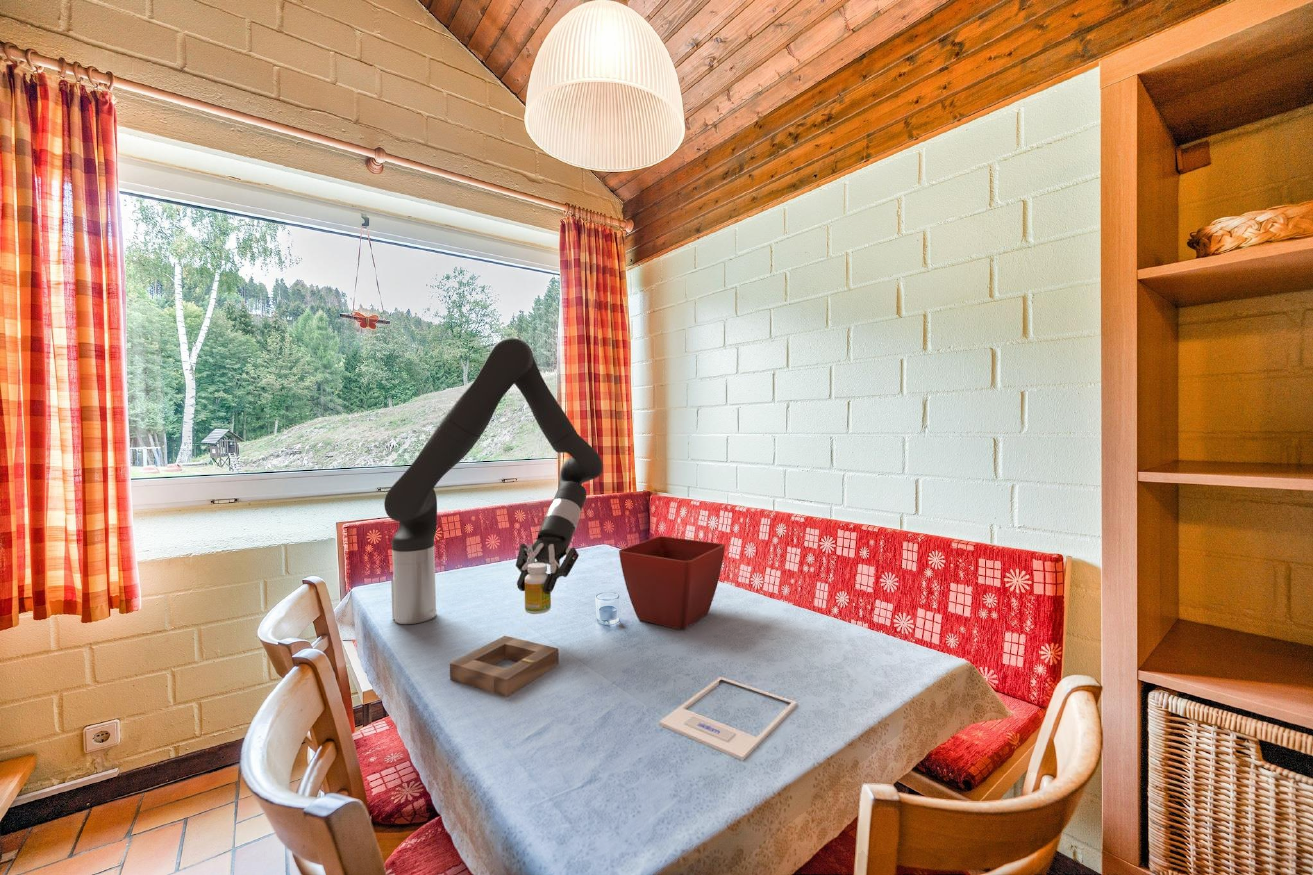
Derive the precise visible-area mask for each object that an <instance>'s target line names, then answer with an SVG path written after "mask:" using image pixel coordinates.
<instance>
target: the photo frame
mask: <svg viewBox="0 0 1313 875" xmlns="http://www.w3.org/2000/svg"><path fill="white" fill-rule="evenodd" d="M720 681H722V682H723V681H724V682H726V683H730V684H732V685H735V686H739V687H740V688H741V687H742V688H745V689H747V690H750V691H754V692H757V693H760V694H763V695H766V696H768V697H772V698H775V699H778V700H781V701H783V702H786V703H789V704H788V705H787V707H786V708H784V709H783V711H781V712H780V713H779V714H778V716H777V717H775V719H774V720H773V721H772V722H770V723H769V724H768V726H766V728H764V730H762V731H761V732H760V733H759V734H758V735H757V736H755V735H752V734H749V733H747V732H744V731H742V730H740V729H738V728H734V727H733V726H732V727H731V726H729V725H727V724H724V723H722V722H719V721H717V720H713V719H711V718H709V717H706V716H704V715H700V714H699V713H696V712H693V711H691V710H688V709H687V708H689V707H690V706H692V705H693V704H694V703H696V702H697V701H698V700H700V699H701V698H702V697H703V696H705V695H706V694H708V693H709V692H710V691H712V690H713V689H715V688H716V687H717V686H718V685H719V684H720ZM797 706H798V701H794V700H792V699H789V698H785V697H784V696H780V695H777V694H773V693H771V692H767V691H765V690H761V689H759V688H756V687H752V686H750V685H746V684H743V683H740V682H739V681H738V682H737V681H735V680H731V679H728V678H725V677H722V676H719V677H718V678H717V679H716V680H713V681H712V682H711V683H709V685H707V686H705V688H703V689H701V690H700V691H699V692H698V693H696V694H695V695H694V696H692V697H691V698H689V699H688V700H687V701H685V702H684V703H683V704H681V705H679V707H677V708H675V709H674V710H673V711H672V712H670V713H669V714H667V715H666V716H665V717H663V718H662V719H660V720H659V722H658V725H659V726H660V727H661V726H662V727H663V728H666V729H668V730H670V731H672V732H675V733H677V734H679V735H682V736H685V737H687V738H689V739H692V740H694V741H696V742H699V743H700V744H703V745H705V746H707V747H710V748H712V749H715V750H717V751H719V752H722V753H724V754H727V755H728V756H731V757H734V758H736V759H738V760H741V761H744V760H746V758H747V757H748V756H749V755H750V754H751V753H752V752H753V751H754V750H755V749H756V747H758V746H759V745H760V744H761V743H762V741H763V740H765V739H766V737H767V736H768V735H769V734H771V732H772V731H774V729H775V728H776V727H777V726H778V725H779V724H780V723H781V722H782V721H783V720H784V719H785V718H786V717H787V716H788V715H789V714H790V713H791V712H792V711H793V710H794V709H795V708H796V707H797Z"/></svg>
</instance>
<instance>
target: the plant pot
mask: <svg viewBox="0 0 1313 875" xmlns="http://www.w3.org/2000/svg"><path fill="white" fill-rule="evenodd" d="M725 550H726V544H724V543H720V542H719V543H717V542H710V541H704V540H703V541H702V540H697V539H695V540H694V539H690V538H688V539H687V538H681V537H673V536H665V535H660V536H655V537H652V538H650V539H647V540H644V541H642V542H639V543H635V544H632V545H630V546H627V547H625V548H624V547H623V548H621V549H619V550H618V556H619V561H620V568H621V571H622V574H623V575H622V576H623V580H624V583H625V587H626V590H627V594H628V597H629V599H630V603H631V604H632V608H633V611H634V613H635V615H636V617H637V620H640V621H643V622H647V623H650V624H656V625H660V626H665V627H667V628H672V629H676V630H681V631H682V630H685V629H687V628H689V627H690V626H692V625H693V624H695V623H696V622H697V621H699V620H700V619H702V618H703V617H705V616H707V615H708V613H709V612H710V609H711V607H712V604H713V601H714V597H715V594H716V590H717V587H718V584H719V581H720V576H721V571H722V568H723V567H722V566H723V562H724V556H725Z"/></svg>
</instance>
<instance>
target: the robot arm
mask: <svg viewBox="0 0 1313 875" xmlns="http://www.w3.org/2000/svg"><path fill="white" fill-rule="evenodd" d="M513 385H515V386H516V387H517V389H518V390H519V392H520V393H521V394H522V396H523V398H524V399H525V401H526V403H527V404H528V406H529V409H530V410H531V412H532V415H533V417H534V419H535V421H536V423H537V425H538V426H539V428H540V430H541V432H542V434H543V436H545V438H546V439H547V441H548V442H549V443H548V444H550V446H551V448H552V449H553V450H554V451H555V452H556V453H559V454H560V453H561V454H563V453H566V454H568V455H569V456H570V457H569V458H567V459H566V460H565V461H564V462H563V464H562V466H561V468H560V472H559V479H558V487H557V488H558V489H557V490H556V493H555V494H554V498H553V499H552V500H553V501H552V502H551V504H550V506H549V507H548V509H547V511H546V513H545V516H544V518H543V521H542V522H541V525H540V528H539V531H538V533H537V538H536V540H535V541H534V542H533V544H528V545H526V543H525V542H524V543H523V542H522V543H521V544H520V546H519V549H518V550H519V551H518V553H517V559H516V561H515V562H516V563H515V567H516V568H517V569H518V571H519V572H520V575H519V577H518V580H517V581H516V586H517V589H518V590H519V591H520V592H525V577H526V576H527V575H528V574H529V573H528V565H529V564H532V563H545V564H547V565H549V566H550V568H549V569H550V573H547V574H548V576H547V579H546V581H545V584H544V587H543V591H544V593H545V594H550V592H551V593H552V592H553V591H554V589H555V586H556V583H557V581H558V579H560V578H561V577H564V578H566V577H568V576H569V574H570V572H571V570H572V569H573V567H574V565H575V564H576V561H577V560H578V558H579V555H580V554H579V552H578V550H576V548H575V547H571V548H569V546H570V545H571V542H572V540H573V537H574V534H575V532H576V530H577V527H578V524H579V521H580V517H581V512H582V510H583V506H584V504H585V501H586V499H587V489H586V488H585V487H584V486H583V484H584V483H586V482H588V481H592V480H594V479H597V478H599V477H600V476H601V474H602V472H603V468H604V464H603V461H602V458H601V457H600V455H599V453H598V451H596V450H595V448H593V447H592V446H591V445H590V444H589V443H588V442H587V441H586V439H584V438H583V437H582V436H581V435H579V434H578V432H577V431H576V430H577V429H576V428H575V427H574V426H573V424H572V422H571V420H570V419H569V418H568V416H567V415H566V413H565V411H564V409H562V407H561V405H560V404H559V403H558V401H557V400H556V398H555V396H554V394H553V393H552V392H551V390H550V389H549V387H548V385H547V384H546V382H545V380H544V378H543V376H542V374H541V372H540V369H539V368H538V365H537V362H536V360H535V357H534V353H533V351H532V348H531V347H530V345H529V344H528V343H526V341H524V340H522V339H519V338H515V337H506V338H503V339H501V340H498V341H497V342H496V343H495V344H494V345H493V347H492V348H491V351H490V352H489V354H488V356H487V358H486V360H485V361H484V364H483V366H482V367H481V368H480V370H479V372H478V374H477V375H476V377H475V379H474V380H473V382H471V384H470V385H469V386H468V388H467V389H466V390H465V391H464V392H463V393H462V394H461V395H460V396H459V398H458V399H457V400H456V401H455V403H454V404H453V405H452V406H451V408H450V409H449V410H448V412H447V413H446V414H445V416H444V417H443V418H442V419H441V421H440V423H439V424H438V425H437V427H436V428H435V430H434V432H433V433H432V435H430V437H429V439H428V440H427V442H426V443H425V444H424V446H423V447H422V449H421V451H420V452H419V454H418V455H417V457H416V458H415V460H414V461H413V462H412V464H411V465H410V466H409V467H408V468H407V469H406V470H405V472H404V473H403V474H402V475H401V476H400V477H399V478H398V480H396V482H395V483H394V484H393V485H392V486H391V487H390V489H389V490H387V493H386V495H385V498H384V501H383V503H384V510H385V513H386V515H387V517H389V519H391V520H393V521H395V522H399V523H398V524H399V525H398V528H397V530H396V532H395V534H394V536H393V537H392V539H391V548H392V552H391V553H392V577H393V578H391V580H390V584H391V588H390V589H391V607H392V608H391V613H392V616H391V617H392V619H394V622H395V623H396V624H400V625H414V624H415V625H416V624H420V623H424V622H427V621H430V620H432V619H434V618H435V617H436V616H437V596H436V595H437V594H436V593H437V591H436V589H437V588H436V564H435V561H436V560H435V538H436V537H435V536H436V533H437V528H438V499H437V494H436V491H435V489H434V488H436V486H437V484H438V483H439V482H440V481H441V479H442V478H443V477H444V476H445V475H446V474H447V473H448V472H449V471H450V470H451V469H453V468H454V467H455V466H456V465H457V464H458V463H459V462H461V460H463V459H464V458H465V457H466V456H467V455H468V453H469V452H470V451H471V450H472V449H473V447H474V446H475V445H476V443H477V442H478V441H479V439H480V438H481V436H483V434H484V433H485V430H486V429H487V427H488V425H489V423H490V422H491V420H492V417H493V415H494V414H495V412H496V409H497V408H498V405H499V404H500V402H501V400H502V398H504V396H506V394H507V393H508V392H509V391H510V389H511V388H512V387H513ZM563 558H564V560H563V561H562V563H561V559H563Z"/></svg>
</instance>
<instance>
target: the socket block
mask: <svg viewBox="0 0 1313 875" xmlns="http://www.w3.org/2000/svg"><path fill="white" fill-rule="evenodd" d="M559 653H560V652H559V648H558V647H554V646H550V645H545V644H541V643H537V642H532V641H529V640H525V639H520V638H517V637H512V636H508V635H503V636H501V637H499V638H497V639H495V640H493V641H491V642H489V643H487V644H485V645H483V646H481V647H479V648H477V649H475V650H473V651H471V652H469V653H467V654H465V655H463V656H461V657H459V658H457V659H455V660H453V661H451V662H449V679H450V680H451V681H455V682H457V683H462V684H465V685H468V686H471V687H474V688H477V689H480V690H484V691H487V692H490V693H493V694H497V695H500V696H504V697H509V696H510V695H512V694H513V693H515V692H517V691H518V690H520V689H522V688H523V687H524V686H527V685H528V684H530V683H531V682H532V681H534V680H536V679H537V678H539V677H541V675H543V674H545V673H546V672H548V671H549V670H551V669H552V668H554V667H556V666H558V665H559V662H560V661H559V660H560V656H559ZM504 660H510V661H512V662H513V661H514V662H515V663H514V664H512V665H510V666H508V667H507V668H505V667H501V666H499V665H496V664H499V663H500V662H502V661H504Z"/></svg>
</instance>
